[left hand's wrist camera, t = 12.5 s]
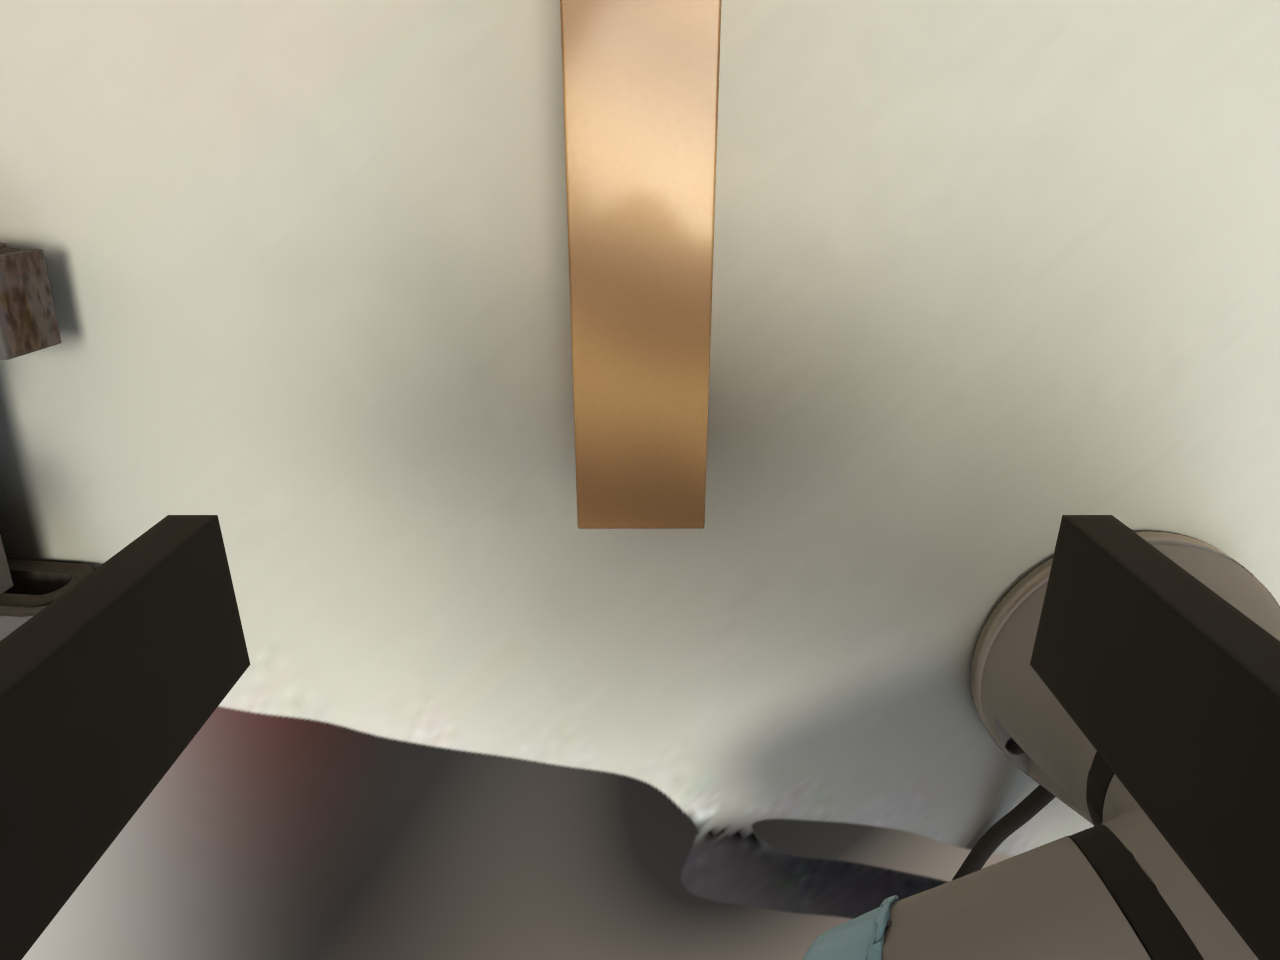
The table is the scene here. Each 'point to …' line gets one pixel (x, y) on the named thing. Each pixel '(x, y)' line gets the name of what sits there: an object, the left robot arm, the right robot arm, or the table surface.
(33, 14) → the table surface
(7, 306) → the toy
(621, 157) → the bar
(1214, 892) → the left robot arm
